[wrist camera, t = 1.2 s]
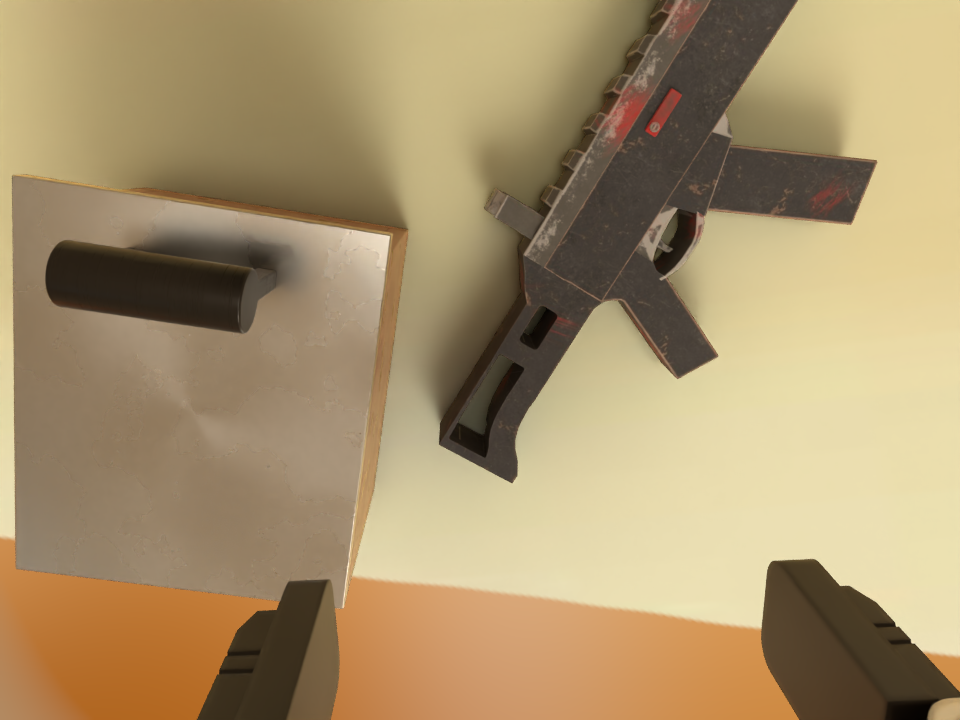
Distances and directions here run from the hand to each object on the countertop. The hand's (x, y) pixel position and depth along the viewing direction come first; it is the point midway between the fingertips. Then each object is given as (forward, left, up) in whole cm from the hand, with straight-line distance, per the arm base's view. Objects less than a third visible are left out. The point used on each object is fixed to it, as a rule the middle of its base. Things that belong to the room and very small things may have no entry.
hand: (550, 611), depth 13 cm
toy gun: (-1, +10, -25) cm, 27 cm away
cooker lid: (-5, -10, -15) cm, 19 cm away
